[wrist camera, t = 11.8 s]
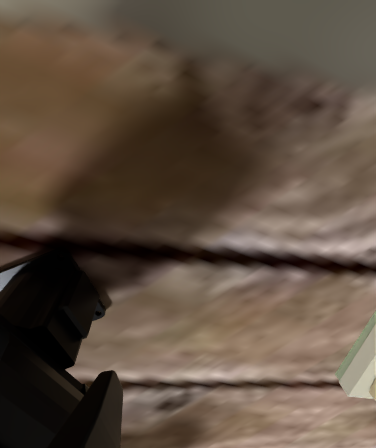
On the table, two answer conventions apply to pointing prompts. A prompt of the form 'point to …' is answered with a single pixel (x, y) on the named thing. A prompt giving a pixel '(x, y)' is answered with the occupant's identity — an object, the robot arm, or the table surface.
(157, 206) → the table surface
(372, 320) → the bottom slab
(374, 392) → the beige rectangular block
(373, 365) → the top slab
